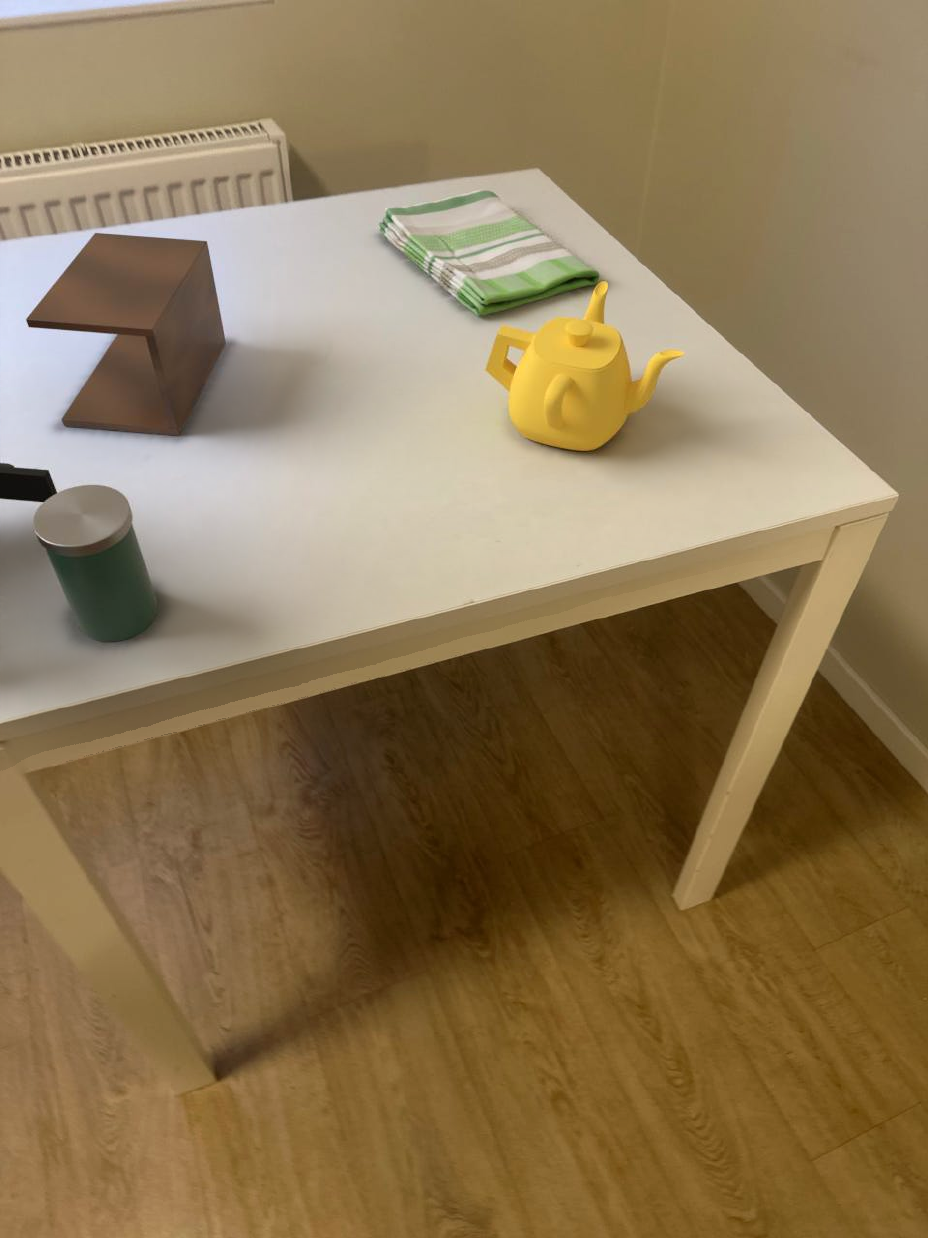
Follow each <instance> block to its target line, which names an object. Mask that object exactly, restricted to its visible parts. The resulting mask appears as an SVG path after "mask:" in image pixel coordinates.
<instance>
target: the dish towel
mask: <svg viewBox="0 0 928 1238" xmlns="http://www.w3.org/2000/svg"><path fill="white" fill-rule="evenodd" d="M384 213H385V214H386V215H383V216H382V217H383V218H382V221H380V222H379V223H378V229H377V230H378V231H380V232H381V234H382V235H383V236H384V237H385V238H386V240H387V241H389V243H391V244H392V245H393V246H394V247H396V248H397V250H399V251H400V252H402V253H403V254H404V255H405V257H407V258H408V259H409V260H411V261H412V262H413V263H414V264H415V265H416V266H418V267H419V269H421V270H422V271H424V272H425V273H427V274H428V275H429V276H430V277H432V279H434V280H435V281H436V282H437V283H438V284H439V285H440V287H442V288H443V289H444V290H445V291H447V292H448V293H449V294H450V295H452V296H453V297H454V298H455V299H456V300H457V301H458V302H459V303H460V304H462V305H463V306H464V307H466V308H467V309H468V310H470V312H472V313H474V315H476V316H478V317H484V316H487V315H490V314H494V313H499V312H503V311H506V310H510V309H512V308H515V307H518V306H522V305H525V304H528V303H532V302H536V301H539V300H542V299H546V298H548V297H551V296H555V295H559V294H561V293H564V292H568V291H572V290H576V289H581V288H585V287H590V286H595V285H597V284H598V281H599V279H600V272H599V271H598V270H597V269H595V268H593V267H591V266H589V265H588V264H587V263H585V262H584V261H583V260H581V258H579V257H577V256H576V255H575V254H573V253H572V252H571V251H570V250H568V249H567V248H566V247H564V246H563V245H562V244H559V243H558V242H556V241H555V240H553V239H552V238H551V237H550V236H548V235H546V234H545V233H544V232H543V231H542V230H541V229H540V228H538V227H537V226H535V224H533V223H532V222H531V221H529V220H527V219H526V218H523V216H521V215H520V214H518V213H517V212H516V211H514V210H513V209H512V208H511V207H509V206H508V205H507V204H506V203H504V201H503V200H502V199H501V198H500V197H499V196H498V195H497V194H496V193H495V192H493V191H491V190H487V189H477V190H472V191H471V190H470V191H468V192H465V193H461V194H457V195H453V196H449V197H446V198H441V199H438V200H433V201H424V202H419V203H417V204H411V205H406V206H390V207H389V206H387V207H385V209H384Z"/></svg>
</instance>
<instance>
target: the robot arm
mask: <svg viewBox="0 0 928 1238" xmlns="http://www.w3.org/2000/svg"><path fill="white" fill-rule="evenodd" d="M57 493H58V490H57V488H56V486H55V483H54V481H53V478H52V476H51V473H50V471H49V469H42V468H41V469H40V468H39V469H38V468H28V467H15V465H13V464H10V463H6V462H0V500H10V501H21V502H33V503H44V502H45V501H46V500H47V499H48V498H50V497H51V496H53V495H55V494H57Z"/></svg>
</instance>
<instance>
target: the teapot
mask: <svg viewBox="0 0 928 1238" xmlns="http://www.w3.org/2000/svg"><path fill="white" fill-rule="evenodd" d="M608 291H609V284H608V282H607V281H605V280H602V281H600V282H598V283H597V284H596V286H595V288H594V289H593V292H592V295H591V298H590V301H589V304H588V307H587V309H586V312H585V314H584V317H583V318H577V317H569V316H558V317H554V318H552V319H550V320H548V321H546V322H545V323H544V324H543V325H542V326H541V327H540V328H539V329H538V331H537V332H536V333H535V332H533V331H528V330H524V329H521V328H518V327H517V328H516V327H513V326H509V325H505V324H501V325H500V327H499V329H498V331H497V333H496V336H495V339H494V341H493V345H492V348H491V352H490V354H489V358H488V360H487V363H486V367H485V370H484V371H486V372H487V373H488V374H489V376H491V377H492V378H494V380H496V381H497V382H498V383H499V384H500V385H501V386H502V387H503V388H505V390H507V391H508V392H509V393H508V403H507V405H508V406H507V407H508V413H509V418H510V420H511V422H512V424H513V426H514V427H515V429H516V430H517V432H518V433H520V435H522V436H523V437H524V438H526V439H528V440H531V441H534V442H536V443H540V444H543V445H547V446H551V447H555V448H560V449H565V450H571V451H582V452H583V451H594V450H597V449H599V448H600V447H602V446H604V445H605V444H606V443H607V442H609V441H610V440H611V439H612V438H613V437H614V436H615V435H616V434H617V433H618V432H619V430H620V429H621V428H622V427H623V425H624V424H625V422H626V420H627V418H628V417H629V414H633V413H635V412H637V411H639V410H640V409H642V408H643V407H645V405H646V404H647V403H649V400H650V399H651V397H652V396H653V394H654V391H655V389H656V385H657V383H658V379H659V377H660V374H661V372H662V370H663V369H664V367H665V366H666V365H667V364H669V363H670V362H671V361H673V360H675V359H677V358H680V357H682V356H684V355H685V352H684V351H682V350H678V349H667V350H666V349H665V350H661V351H658V352H656V353H655V354H653V356H652V357H651V358H650V359H649V361H648V363H647V365H646V368H645V370H644V373H643V375H642V377H641V378H640V379H638V380H635V381H632V380H633V379H632V371H631V364H630V361H629V355H628V353H627V350H626V347H625V343H624V340H623V337H622V334H621V333H620V331H619V330H618V329H616V328H615V327H614V326H612V325H609V324H605V306H606V300H607V299H606V298H607V294H608ZM510 347H513V348H515V349H517V350H521V351H523V353H522V355H521V357H520V359H519V361H518V363H517V365H516V364H515V363H514V362H512V361H511V360H510V359H509V358H508V354H509V350H510Z"/></svg>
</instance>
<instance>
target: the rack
mask: <svg viewBox="0 0 928 1238" xmlns="http://www.w3.org/2000/svg"><path fill="white" fill-rule="evenodd" d="M210 255H211V254H210V248H209V245H208V241H207V240H199V239H198V240H197V239H186V238H185V239H183V238H173V237H172V238H170V237H158V236H143V235H130V234H129V235H128V234H116V233H104V232H103V233H102V232H95V233H93V235H92V236H91V237H90V239H89V240H88V241H87V243H86V244H85V245H84V246H83V247H82V249H80V250H79V252H78V254H77V255H76V256H75V257H74V258H73V260H72V261H71V262H70V264H69V265H68V266H67V267H66V269H65V270H64V271H63V272H62V273H61V275H60V276H59V277H58V279H57V280H56V281H55V282H54V283H53V285H52V286H51V287H50V288H49V290H48V291H47V292H46V294H45V295H44V296H43V297H42V299H41V300H40V301H39V302H38V304H37V305H36V306H35V307H34V309H32V311H31V312H30V314H29V315H28V316H27V317H26V318H25V321H26V324H27V327H28V328H33V329H44V330H45V329H46V330H58V331H71V332H82V333H96V334H108V335H116V336H115V337H114V339H113V340H112V341H111V343H110V345H109V346H108V348H107V350H106V351H105V353H104V354H103V356H102V357H101V358H100V360H99V362H98V363H97V364H96V366H95V367H94V370H92V372H91V374H90V375H89V377H88V379H87V380H86V381H85V382H84V384H83V386H82V387H81V389H80V390H79V392H78V393H77V395H76V396H75V398H74V400H73V401H72V402H71V404H70V406H69V407H68V409H67V410H66V412H65V413H64V415H63V416H62V417H61V422H62V426H63V427H70V428H82V429H95V430H105V431H106V430H107V431H119V432H127V433H129V432H131V433H140V434H141V433H142V434H154V435H162V436H163V435H165V436H175V437H176V436H177V437H179V436H180V435H181V432H182V431H183V428H184V426H185V425H186V422H187V421H188V418H189V417H190V415H191V412H193V411H192V410H193V408H194V406H195V405H196V403H197V401H198V399H199V397H200V395H201V393H202V391H203V389H204V387H205V385H206V383H207V381H208V379H209V377H210V375H211V374H212V372H213V370H214V368H215V366H216V364H217V362H218V359H219V358H220V355H221V354H222V352H223V350H224V348H225V346H226V344H227V341H226V337H225V335H226V334H225V331H224V325H223V319H222V314H221V309H220V303H219V298H218V292H217V288H216V282H215V277H214V276H215V275H214V271H213V265H212V261H211V260H212V259H211V256H210Z"/></svg>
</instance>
